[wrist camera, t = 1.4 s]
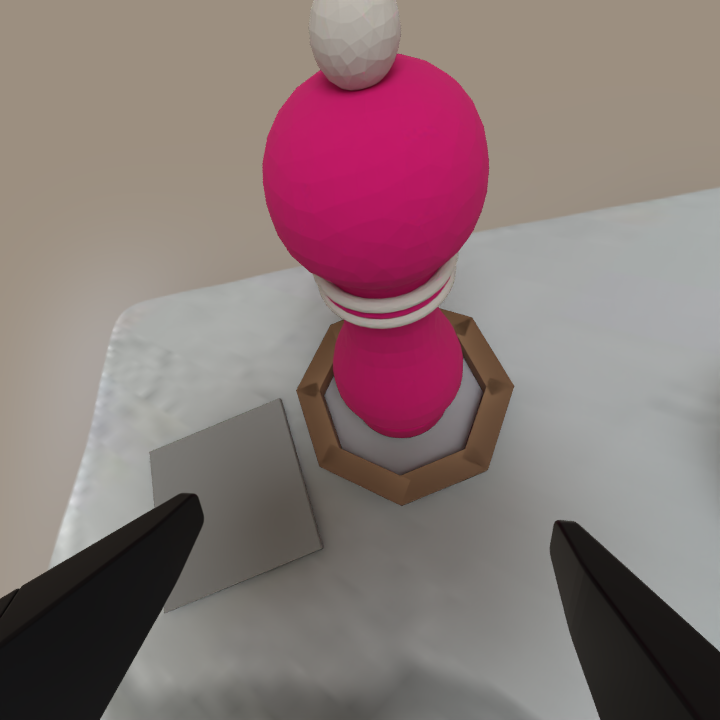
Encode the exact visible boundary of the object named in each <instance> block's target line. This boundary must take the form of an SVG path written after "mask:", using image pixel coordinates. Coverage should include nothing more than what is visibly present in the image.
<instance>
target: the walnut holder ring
mask: <svg viewBox="0 0 720 720" xmlns="http://www.w3.org/2000/svg"><path fill="white" fill-rule="evenodd" d="M439 309H440V308H439ZM440 310H441V311H442V313H443V314H444V315H445V316H446V318H447V319H448V320H449V321H450V323H451V325H452V326H453V328H454V330H455V332H456V335H457V337H458V340H459V342H460V345H461V349H462V354H463V357H464V359H465V360H466V362H467V364H468V366H469V368H470V369H471V371H472V373H473V375H474V376H475V378H476V380H477V382H478V383H479V385H480V387H481V389H482V390H483V392H484V393H483V396H482V399H481V402H480V405H479V408H478V411H477V414H476V416H475V419H474V422H473V425H472V428H471V431H470V434H469V437H468V440H467V443H466V446H465V449H464V450H461V451H459V452H457V453H454V454H452V455H449V456H447V457H444V458H442V459H440V460H437V461H435V462H432V463H430V464H427V465H425V466H423V467H420V468H418V469H415V470H413V471H411V472H408V473H406V474H403V475H401V476H400V475H398V474H396V473H393V472H391V471H389V470H387V469H385V468H382V467H380V466H378V465H376V464H374V463H371V462H369V461H367V460H365V459H363V458H360V457H358V456H356V455H354V454H351V453H349V452H347V451H345V450H343V449H342V447H341V444H340V441H339V438H338V435H337V432H336V429H335V426H334V423H333V421H332V418H331V415H330V412H329V409H328V406H327V403H326V400H325V397H324V394H325V392H326V390H327V388H328V386H329V384H330V382H331V380H332V378H333V376H334V372H333V356H334V349H335V343H336V340H337V338H338V335H339V332H340V330H341V328H342V326H343V324H344V320H341V321H339V322H336V323H334V324H332V325H330V327H329V329H328V331H327V333H326V335H325V337H324V338H323V340H322V342H321V344H320V346H319V348H318V350H317V352H316V354H315V356H314V358H313V360H312V361H311V363H310V365H309V367H308V369H307V371H306V373H305V375H304V377H303V379H302V381H301V383H300V384H299V386H298V388H297V390H296V391H297V394H298V397H299V401H300V404H301V407H302V411H303V414H304V417H305V420H306V424H307V427H308V430H309V433H310V437H311V440H312V443H313V447H314V450H315V453H316V456H317V460H318V463H319V466H320V467H322V468H324V469H326V470H328V471H330V472H332V473H334V474H336V475H338V476H340V477H343V478H345V479H347V480H349V481H351V482H353V483H355V484H357V485H359V486H361V487H363V488H365V489H368V490H370V491H372V492H374V493H376V494H378V495H380V496H382V497H384V498H386V499H388V500H390V501H393V502H395V503H397V504H399V505H401V506H403V505H405V504H407V503H410V502H412V501H415V500H417V499H420V498H422V497H424V496H427V495H429V494H432V493H434V492H437V491H439V490H441V489H444V488H446V487H449V486H451V485H454V484H456V483H458V482H461V481H463V480H466V479H468V478H471V477H473V476H475V475H478V474H480V473H483V472H485V471H487V470H488V468H489V465H490V461H491V458H492V455H493V452H494V449H495V445H496V442H497V439H498V436H499V433H500V430H501V426H502V423H503V420H504V417H505V414H506V410H507V407H508V404H509V401H510V398H511V395H512V391H513V388H514V385H513V383H512V382H511V380H510V379H509V377H508V375H507V374H506V372H505V370H504V369H503V367H502V365H501V364H500V362H499V361H498V359H497V357H496V356H495V354H494V352H493V351H492V349H491V348H490V346H489V344H488V343H487V341H486V339H485V338H484V336H483V335H482V333H481V331H480V330H479V328H478V326H477V325H476V323H475V321H474V320H473V318H472V317H468V316H465V315H461V314H458V313H454V312H451V311H447V310H444V309H440Z"/></svg>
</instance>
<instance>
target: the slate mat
mask: <svg viewBox="0 0 720 720" xmlns="http://www.w3.org/2000/svg"><path fill="white" fill-rule="evenodd" d="M150 463H151V474H152V485H153V495H154V506H155V508H156V507H157V506H159V505H161V504H162V503H164V502H166V501H168V500H169V499H171V498H173V497H174V496H176V495H178V494H180V493H195V494H197V495H198V497H199V500H200V504H201V507H202V510H203V513H204V523H203V526H202V529H201V531H200V533H199V535H198V537H197V540H196V542H195V544H194V546H193V548H192V551H191V553H190V555H189V557H188V559H187V562H186V564H185V566H184V568H183V570H182V573H181V575H180V577H179V579H178V581H177V583H176V585H175V587H174V589H173V590H172V592H171V594H170V596H169V598H168V599H167V601H166V603H165V605H164V613H167V612H169V611H172V610H174V609H177V608H179V607H181V606H184V605H186V604H189V603H191V602H194V601H196V600H198V599H201V598H203V597H206V596H208V595H211V594H213V593H215V592H218V591H220V590H223V589H225V588H228V587H230V586H232V585H235V584H237V583H240V582H242V581H245V580H247V579H249V578H252V577H254V576H257V575H259V574H262V573H264V572H266V571H269V570H271V569H274V568H276V567H278V566H281V565H283V564H286V563H288V562H291V561H293V560H295V559H298V558H300V557H303V556H305V555H308V554H310V553H312V552H315V551H317V550H320V549H322V548H323V546H322V542H321V539H320V535H319V532H318V528H317V524H316V521H315V517H314V514H313V510H312V507H311V503H310V500H309V496H308V492H307V489H306V485H305V482H304V478H303V475H302V471H301V468H300V464H299V460H298V457H297V453H296V450H295V446H294V443H293V439H292V436H291V432H290V428H289V425H288V421H287V418H286V414H285V411H284V407H283V403H282V400H281V399H280V398H279V399H276V400H274V401H272V402H269V403H267V404H264V405H262V406H260V407H257V408H255V409H252V410H250V411H248V412H245V413H243V414H240V415H238V416H235V417H233V418H231V419H228V420H226V421H223V422H221V423H219V424H216V425H214V426H211V427H209V428H207V429H204V430H202V431H199V432H197V433H194V434H192V435H190V436H187V437H185V438H182V439H180V440H178V441H175V442H173V443H170V444H168V445H165V446H163V447H161V448H158V449H156V450H153V451H151V452H150Z"/></svg>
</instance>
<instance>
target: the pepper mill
mask: <svg viewBox="0 0 720 720" xmlns="http://www.w3.org/2000/svg"><path fill="white" fill-rule="evenodd" d="M309 34H310V45H311V48H312V51H313V54H314V57H315V60H316V62H317V64H318V66H319V68H320V69H321V70H320V71H319V72H317V73H316V74H315V75H313V76H312V77H310V78H309V79H308V80H306V81H305V82H304V83H302V84H301V85H300V86H298V87H297V88H296V90H295V91H294V92H293V93H292V94H291V96H290V97H289V98H288V100H287V101H286V102H285V104H284V105H283V106H282V108H281V109H280V110H279V111H278V114H277V116H276V118H275V121H274V123H273V125H272V127H271V130H270V132H269V134H268V137H267V142H266V148H265V153H264V158H263V186H264V191H265V198H266V204H267V207H268V210H269V213H270V216H271V219H272V222H273V224H274V226H275V229H276V231H277V234H278V236H279V238H280V239H281V241H282V242H283V244H284V245H285V247H286V248H287V250H288V251H289V253H290V254H291V255H292V257H294V258H295V259H296V260H297V261H298V262H299V263H300V264H301V265H303V266H304V267H305V268H306V269H307V270H308V271H309V272H311V273H313V276H314V279H315V281H316V283H317V285H318V287H319V291H320V294H321V296H322V298H323V300H324V302H325V303H326V305H327V306H328V307H329V308H330V309H331V310H332V311H333V312H334V313H335V314H336V315H338V316H339V317H340V318H342V319H344V324H343V326H342V328H341V330H340V332H339V335H338V338H337V340H336V343H335V349H334V356H333V372H334V377H335V381H336V384H337V388H338V390H339V392H340V395H341V397H342V399H343V400H344V402H345V403H346V405H347V406H348V407H349V408H350V409H351V410H352V411H353V412H354V413H355V414H356V415H358V416H359V417H360V418H361V419H363V420H364V422H365V423H366V424H367V425H368V426H369V427H370V428H372V429H373V430H375V431H376V432H378V433H380V434H382V435H385V436H389V437H394V438H409V437H413V436H417V435H420V434H422V433H424V432H426V431H428V430H429V429H430V428H432V427H433V426H434V425H435V424H436V423H437V422H438V421H439V419H440V418H441V417H442V415H443V413H444V411H445V409H446V408H447V407H448V406H449V405H450V404H451V402H452V401H453V400H454V398H455V397H456V394H457V392H458V390H459V388H460V385H461V380H462V373H463V354H462V349H461V345H460V342H459V340H458V337H457V335H456V332H455V330H454V328H453V326H452V325H451V323H450V321H449V320H448V319H447V318H446V316H445V315H444V314H443V313H442V311H441V310H440V309H439V307H438V306H439V305H440V304H441V303H442V302H443V301H444V300H445V298H446V297H447V295H448V293H449V292H450V290H451V288H452V285H453V283H454V279H455V274H456V263H457V259H458V251H459V250H460V249H461V247H462V246H463V245H464V243H465V242H466V241H467V239H468V238H469V236H470V235H471V233H472V231H473V230H474V228H475V225H476V223H477V221H478V218H479V216H480V213H481V212H482V208H483V204H484V201H485V197H486V193H487V185H488V175H489V158H488V149H487V142H486V137H485V131H484V126H483V124H482V121H481V119H480V117H479V115H478V112H477V110H476V108H475V105H474V103H473V101H472V100H471V98H470V97H469V96H468V95H467V93H466V92H465V91H464V89H463V88H462V87H461V86H460V84H459V83H458V82H457V81H456V80H455V79H453V78H452V77H451V76H449V75H448V74H447V73H445V72H444V71H442V70H440V69H439V68H437V67H435V66H434V65H432V64H430V63H429V62H427V61H425V60H421V59H418V58H414V57H410V56H406V55H402V54H397V51H398V47H399V42H400V37H401V26H400V19H399V13H398V8H397V3H396V0H314V2H313V5H312V8H311V12H310V21H309Z"/></svg>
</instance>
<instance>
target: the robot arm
mask: <svg viewBox="0 0 720 720" xmlns="http://www.w3.org/2000/svg"><path fill="white" fill-rule="evenodd" d="M203 523H204V513H203V510H202V507H201V504H200V500H199V497H198V495H197V494H195V493H180V494H178V495H176V496H174V497H173V498H171V499H169V500H168V501H166V502H164V503H162V504H161V505H159V506H157V507H156V508H154V509H152V510H151V511H149V512H147V513H145V514H144V515H142V516H140V517H139V518H137V519H135V520H133V521H132V522H130V523H128V524H127V525H125V526H123V527H122V528H120V529H118V530H116V531H115V532H113V533H111V534H110V535H108V536H106V537H105V538H103V539H101V540H99V541H98V542H96V543H94V544H93V545H91V546H89V547H87V548H86V549H84V550H82V551H81V552H79V553H77V554H76V555H74V556H72V557H70V558H69V559H67V560H65V561H64V562H62V563H60V564H58V565H57V566H55V567H53V568H52V569H50V570H48V571H47V572H45V573H43V574H41V575H40V576H38V577H36V578H35V579H33V580H31V581H30V582H28V583H26V584H24V585H23V586H22V587H21V588H20V589H16V590H14V591H12V592H11V593H9V594H8V595H6V596H4V597H2V598H1V599H0V720H100V718H101V717H102V715H103V713H104V711H105V710H106V708H107V706H108V704H109V702H110V701H111V699H112V697H113V695H114V694H115V692H116V690H117V688H118V686H119V685H120V683H121V681H122V679H123V678H124V676H125V674H126V672H127V670H128V669H129V667H130V665H131V663H132V662H133V660H134V658H135V656H136V654H137V653H138V651H139V649H140V647H141V646H142V644H143V642H144V640H145V638H146V637H147V635H148V633H149V631H150V630H151V628H152V626H153V624H154V622H155V621H156V619H157V617H158V615H159V614H160V612H161V610H162V608H163V607H164V605H165V603H166V601H167V599H168V598H169V596H170V594H171V592H172V590H173V589H174V587H175V585H176V583H177V581H178V579H179V577H180V575H181V573H182V570H183V568H184V566H185V564H186V562H187V559H188V557H189V555H190V553H191V551H192V548H193V546H194V544H195V542H196V540H197V537H198V535H199V533H200V531H201V529H202V526H203ZM550 555H551V560H552V564H553V568H554V572H555V576H556V580H557V584H558V588H559V592H560V596H561V600H562V604H563V608H564V612H565V616H566V620H567V624H568V628H569V632H570V635H571V638H572V641H573V644H574V647H575V650H576V653H577V655H578V658H579V661H580V664H581V667H582V669H583V672H584V675H585V678H586V681H587V683H588V686H589V689H590V692H591V695H592V698H593V700H594V703H595V706H596V709H597V712H598V714H599V717H600V720H720V652H719V651H718V650H717V649H716V648H715V647H714V646H713V645H712V644H711V643H710V642H708V641H707V640H706V639H705V638H704V637H703V636H702V635H701V634H700V633H699V632H697V631H696V630H695V629H694V628H693V627H692V626H691V625H690V624H689V623H687V622H686V621H685V620H684V619H683V618H682V617H681V616H680V615H679V614H678V613H676V612H675V611H674V610H673V609H672V608H671V607H670V606H669V605H668V604H666V603H665V602H664V601H663V600H662V599H661V598H660V597H659V596H658V595H657V594H655V593H654V592H653V591H652V590H651V589H650V588H649V587H648V586H647V585H645V584H644V583H643V582H642V581H641V580H640V579H639V578H638V577H637V576H636V575H634V574H633V573H632V572H631V571H630V570H629V569H628V568H627V567H626V566H624V565H623V564H622V563H621V562H620V561H619V560H618V559H617V558H616V557H615V556H613V555H612V554H611V553H610V552H609V551H608V550H607V549H606V548H605V547H604V546H602V545H601V544H600V543H599V542H598V541H597V540H596V539H595V538H594V537H592V536H591V535H590V534H589V533H588V532H587V531H586V530H585V529H584V528H583V527H581V526H580V525H579V524H578V523H576V522H574V521H564V520H557V521H555V523H554V526H553V532H552V537H551V543H550Z"/></svg>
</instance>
